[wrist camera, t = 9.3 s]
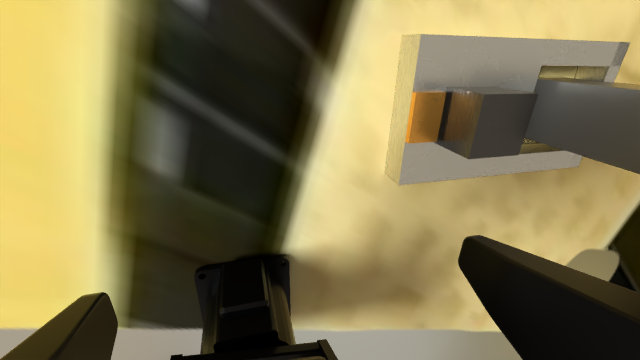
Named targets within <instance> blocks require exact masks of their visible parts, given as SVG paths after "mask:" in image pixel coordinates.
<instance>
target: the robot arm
mask: <svg viewBox="0 0 640 360" xmlns="http://www.w3.org/2000/svg"><path fill="white" fill-rule="evenodd" d="M281 261H284V263H280V262H281ZM458 264H459V267H460V269H461V271H462V272H463V274H464V275H465V277H466V279H467V280H468V282H469V283H470V285H471V287H472V288H473V290H474V291H475V293H476V295H477V296H478V298H479V299H480V301H481V302H482V304H483V306H484V307H485V309H486V310H487V312H488V313H489V315H490V316H491V318H492V319H493V321H494V322H495V323H496V325H497V326H498V327H499V329H500V330H501V331H502V333H503V334H504V335H505V337H506V338H507V339H508V341H509V342H510V343H511V345H512V346H513V347H514V349H515V350H516V351H517V353H518V354H519V355H520V357H521V358H522V359H523V360H640V293H637V292H635V291H632V290H629V289H626V288H624V287H621V286H618V285H616V284H613V283H610V282H607V281H605V280H601V279H599V278H596V277H593V276H591V275H588V274H585V273H583V272H580V271H577V270H574V269H572V268H569V267H566V266H563V265H561V264H558V263H555V262H552V261H550V260H547V259H544V258H541V257H539V256H536V255H533V254H531V253H528V252H525V251H522V250H520V249H517V248H514V247H511V246H509V245H506V244H503V243H500V242H498V241H495V240H492V239H489V238H487V237H484V236H481V235H475V236H468V237H466V238H465V239H464V241H463V244H462V248H461V251H460V255H459V258H458ZM200 274H205V275H204V276H201V275H200ZM195 283H196V288H197V293H198V298H199V303H200V308H201V313H202V318H203V323H204V324H203V334H202V343H201V352H200V354H199V355H190V356H182V354H181V355H172V356H171V359H170V360H338V359H337V357H336V356H335V354H334V352H333V350H332V349H331V347H330V345H329V343H328V341H327V340H326V339H324V340H318V341H317V342H313V343H303V344H296V343H295V338H294V333H293V328H292V323H291V318H290V317H291V314H290V277H289V260H288V257H287V256H285V255H278V256H272V257H265V258H259V259H252V260H245V261H239V262H232V263H225V264H219V265H212V266H205V267H200V268H198V269H197V270H196V271H195ZM117 328H118V322H117V317H116V314H115V312H114V309H113V306H112V303H111V300H110V298H109V296H108V294H107V293H104V292H101V293H95V294H88V295H84V296H81V297H80V298H78V299H77V300H76V301H75V302H73V303H72V304H71V305H69V306H68V307H67V308H66V309H64V310H63V311H62V312H60V313H59V314H58V315H57V316H55V317H54V318H53V319H51V320H50V321H49V322H47V323H46V324H45V325H44V326H42V327H41V328H40V329H38V330H37V331H36V332H35V333H33V334H32V335H31V336H29V337H28V338H27V339H26V340H24V341H23V342H22V343H20V344H19V345H18V346H17V347H15V348H14V349H13V350H11V351H10V352H9V353H8V354H6V355H5V356H4V357H2V358H1V359H0V360H111V355H112V351H113V346H114V342H115V338H116V334H117Z"/></svg>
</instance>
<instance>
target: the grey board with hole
mask: <svg viewBox="0 0 640 360" xmlns="http://www.w3.org/2000/svg"><path fill="white" fill-rule="evenodd" d="M629 44H630V43H628V42H603V41H578V40H553V39H528V38H503V37H478V36H453V35H428V34H416V35H402V41H401V49H400V57H399V65H398V73H397V81H396V89H395V97H394V105H393V113H392V121H391V129H390V137H389V145H388V153H387V161H386V169H385V174H386V175H387V176H388V177H390V178H391V179H392V180H393V181H394V182H395V183H397V184H398V185H405V184H415V183H424V182H434V181H444V180H454V179H464V178H474V177H483V176H493V175H503V174H513V173H523V172H532V171H542V170H552V169H562V168H572V167H579V164H580V162H581V159H582V157H583V156H581V155H578V154H574V153H571V152H568V151H565V150H562V149H559V148H555V147H552V146H549V145H546V144H543V143H533V144H522V143H523V140H524V137H525V134H526V131H527V128H528V125H529V121H530V118H531V115H532V112H533V109H534V106H535V103H536V100H537V96H538V93H533V92H534V89H535V86H536V82H537V79H538V76H539V73H540V70H541V66H579V68H578V70H577V73H576V76H575V79H583V80H593V81H604V82H614V80H615V78H616V76H617V73H618V71H619V68H620V66H621V64H622V61H623V59H624V56H625V54H626V52H627V49H628V47H629Z"/></svg>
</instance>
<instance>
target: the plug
mask: <svg viewBox="0 0 640 360" xmlns="http://www.w3.org/2000/svg"><path fill="white" fill-rule="evenodd" d="M533 93H538V96H537V100H536V103H535V106H534V109H533V112H532V115H531V118H530V121H529V125H528V128H527V131H526V134H525V137H524V138H527V139H530V140H533V141H536V142H540V143H543V144H546V145H549V146H552V147H555V148H559V149H562V150H565V151H568V152H571V153H574V154H578V155H581V156H584V157H587V158H590V159H593V160H597V161H600V162H603V163H606V164H609V165H613V166H616V167H619V168H622V169H625V170H628V171H632V172H635V173H638V174H640V85H635V84H625V83H614V82H604V81H593V80H583V79H572V78H544V77H538V79H537V82H536V86H535V89H534V92H533Z"/></svg>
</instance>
